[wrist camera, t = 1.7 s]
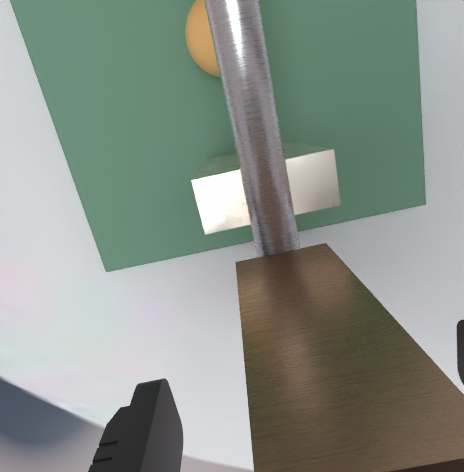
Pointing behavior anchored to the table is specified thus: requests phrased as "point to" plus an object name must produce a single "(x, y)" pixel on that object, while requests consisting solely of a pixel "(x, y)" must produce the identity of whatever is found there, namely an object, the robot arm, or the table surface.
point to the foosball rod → (312, 299)
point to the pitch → (222, 111)
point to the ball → (201, 38)
